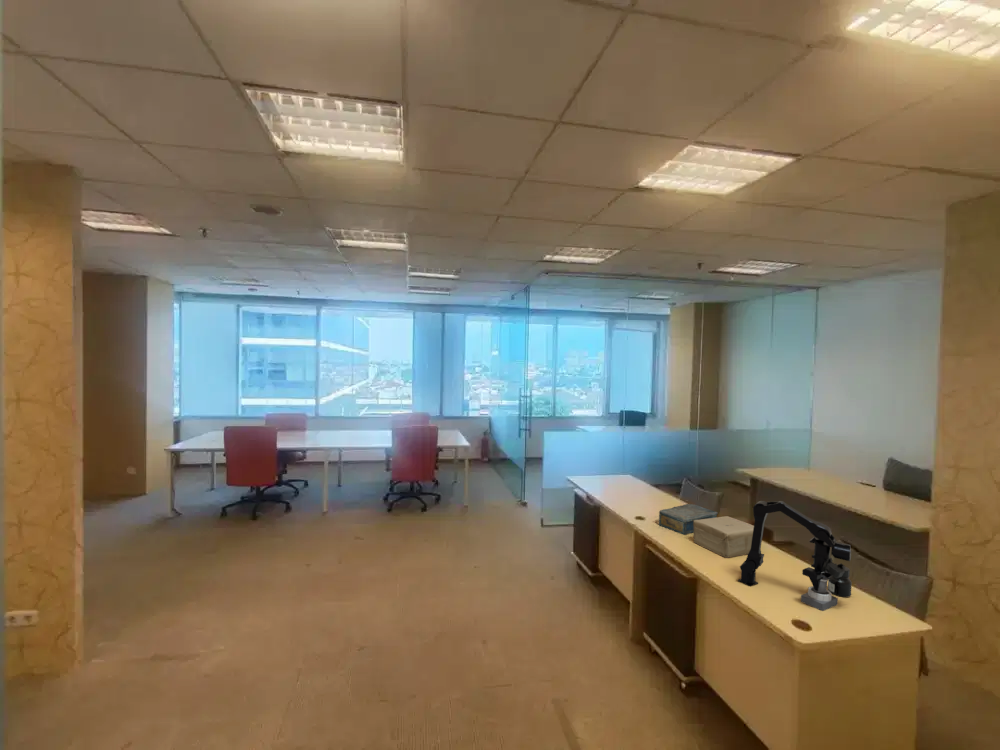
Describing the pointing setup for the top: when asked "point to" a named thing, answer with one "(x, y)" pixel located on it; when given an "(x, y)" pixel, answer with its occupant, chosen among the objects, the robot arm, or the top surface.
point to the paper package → (724, 535)
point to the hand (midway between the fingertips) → (819, 589)
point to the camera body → (819, 599)
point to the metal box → (684, 517)
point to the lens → (822, 586)
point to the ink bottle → (840, 584)
